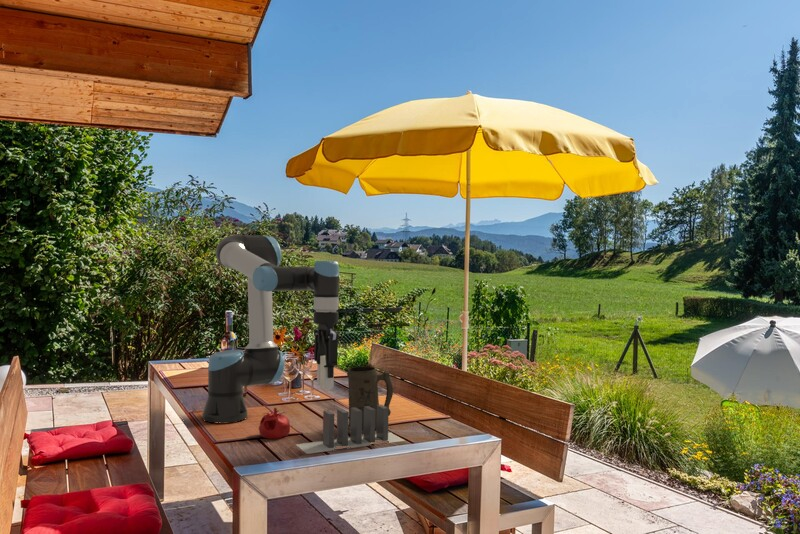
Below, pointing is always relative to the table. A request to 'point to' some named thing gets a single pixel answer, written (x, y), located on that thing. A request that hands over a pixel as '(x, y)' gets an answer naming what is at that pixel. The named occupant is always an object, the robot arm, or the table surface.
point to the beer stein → (367, 390)
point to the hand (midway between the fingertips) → (325, 386)
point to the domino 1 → (322, 372)
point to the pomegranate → (274, 425)
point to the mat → (320, 447)
